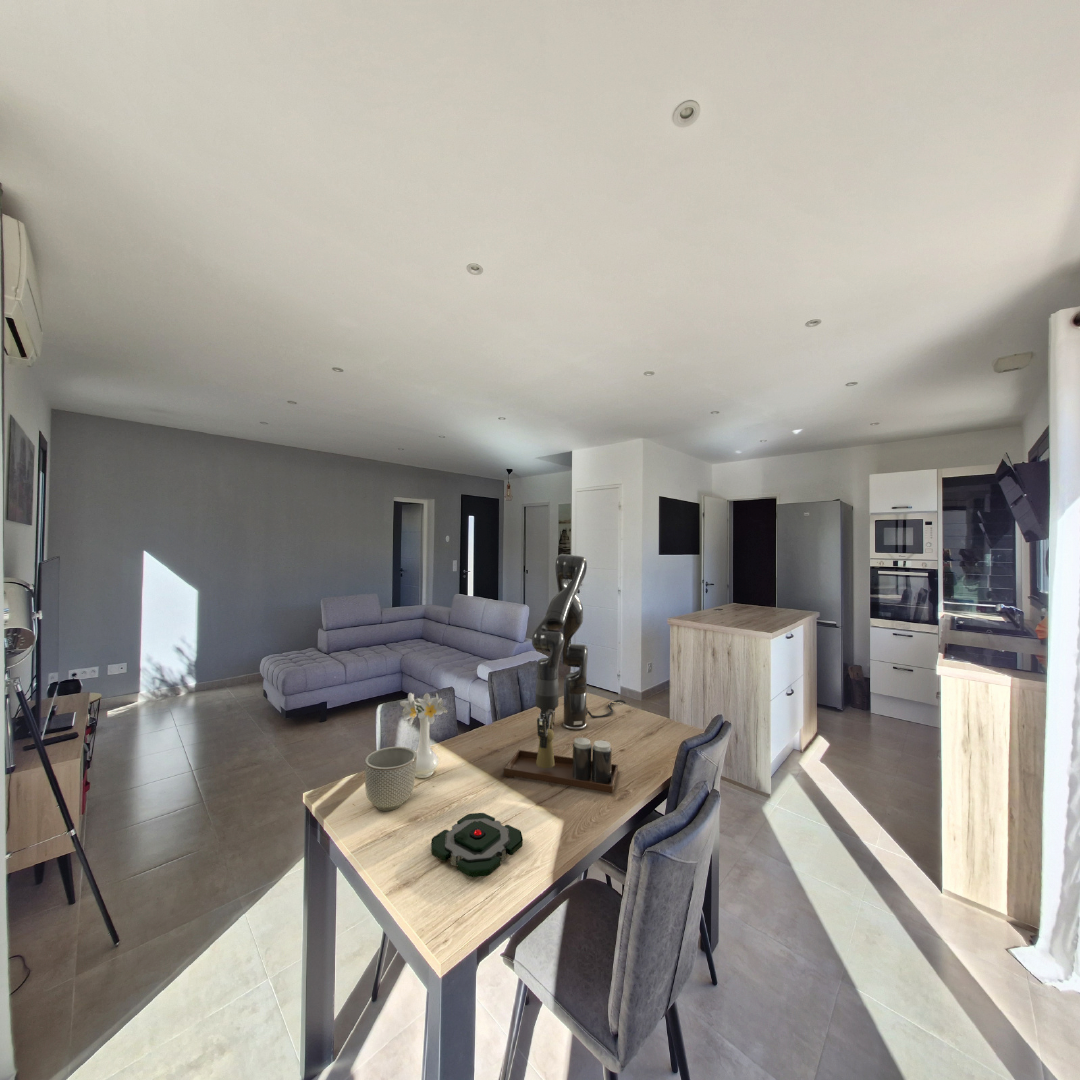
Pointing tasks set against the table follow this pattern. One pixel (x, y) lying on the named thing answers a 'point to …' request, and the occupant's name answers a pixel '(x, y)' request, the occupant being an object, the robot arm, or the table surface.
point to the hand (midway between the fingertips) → (545, 743)
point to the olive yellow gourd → (546, 752)
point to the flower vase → (424, 730)
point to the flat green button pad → (476, 844)
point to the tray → (554, 772)
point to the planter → (390, 776)
